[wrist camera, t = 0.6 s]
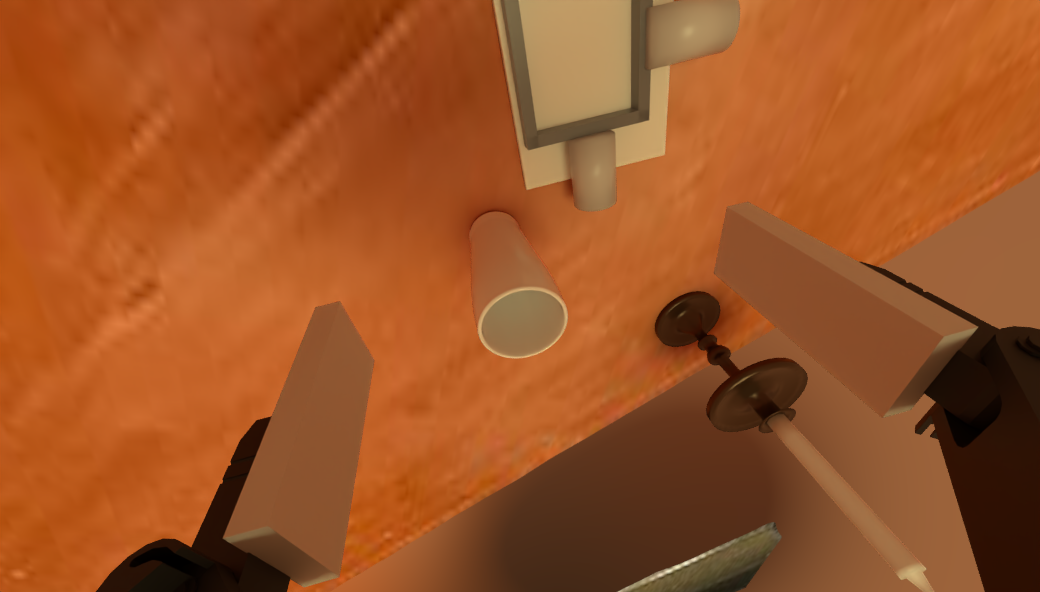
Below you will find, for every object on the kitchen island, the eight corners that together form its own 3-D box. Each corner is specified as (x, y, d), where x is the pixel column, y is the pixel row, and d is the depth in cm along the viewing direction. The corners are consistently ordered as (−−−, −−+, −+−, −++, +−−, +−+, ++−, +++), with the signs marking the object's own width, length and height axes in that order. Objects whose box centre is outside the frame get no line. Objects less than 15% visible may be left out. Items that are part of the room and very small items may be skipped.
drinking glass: (447, 226, 37) (456, 320, 25) (505, 188, 36) (543, 268, 24) (484, 272, 41) (508, 373, 29) (537, 240, 40) (584, 330, 28)
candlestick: (685, 354, 56) (938, 673, 28) (633, 336, 52) (874, 696, 24) (737, 299, 51) (1102, 618, 24) (685, 275, 47) (1061, 634, 19)
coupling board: (472, -108, 24) (481, -134, 20) (718, -160, 25) (771, -194, 21) (528, 206, 37) (539, 226, 33) (687, 165, 38) (715, 180, 34)
